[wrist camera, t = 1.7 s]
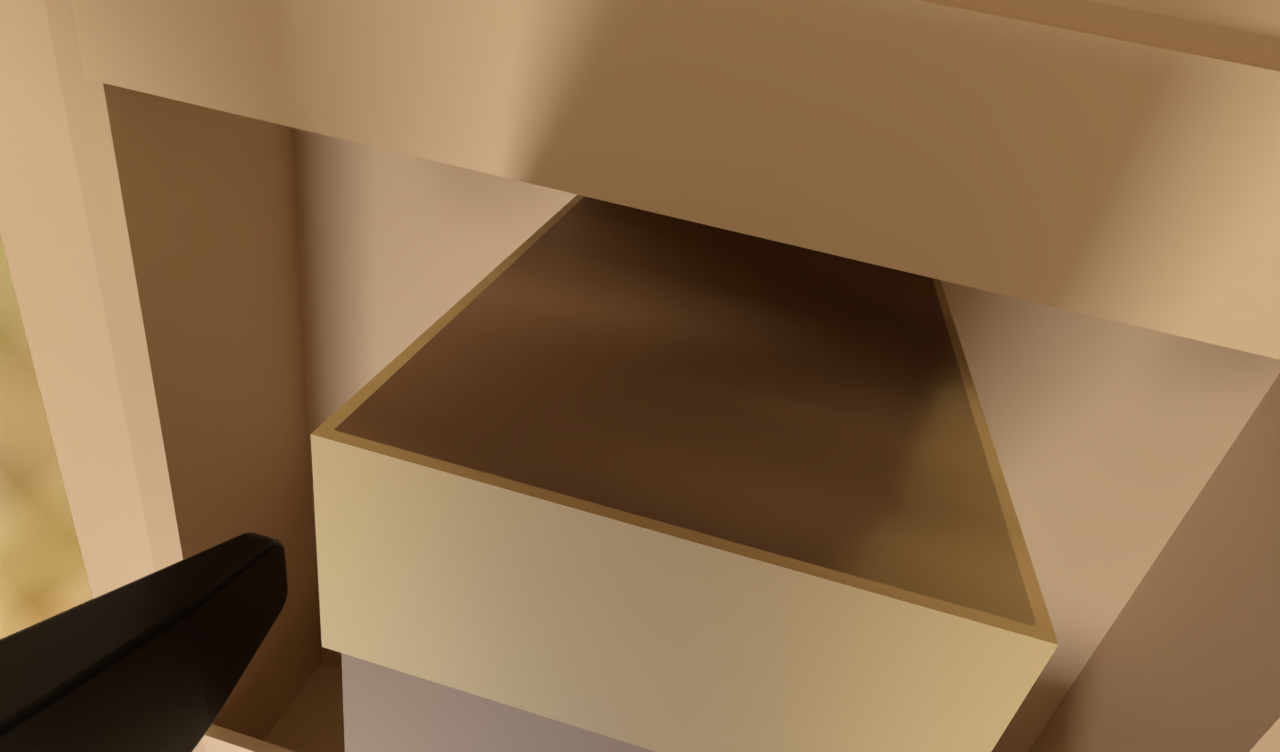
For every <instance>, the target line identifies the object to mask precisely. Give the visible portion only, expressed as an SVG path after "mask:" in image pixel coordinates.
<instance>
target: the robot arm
mask: <svg viewBox="0 0 1280 752" xmlns="http://www.w3.org/2000/svg"><path fill="white" fill-rule="evenodd" d="M287 594H288V581H287V569H286V557H285V548H284V545H283V544H282V542H281V541H279V540H278V539H274V538H271V537H268V536H264V535H261V534H258V533H253V532H249V533H244V534H241V535H239V536H236V537H234V538H232V539H229V540H227V541H225V542H223V543H220V544H218V545H216V546H213V547H211V548H209V549H207V550H204V551H202V552H200V553H197V554H195V555H193V556H190V557H188V558H186V559H184V560H181V561H179V562H177V563H174V564H172V565H170V566H168V567H165V568H163V569H161V570H158V571H156V572H154V573H151V574H149V575H147V576H145V577H142V578H140V579H138V580H135V581H133V582H131V583H129V584H126V585H124V586H122V587H119V588H117V589H115V590H112V591H110V592H108V593H106V594H103V595H101V596H99V597H96V598H94V599H92V600H90V601H87V602H85V603H83V604H80V605H78V606H76V607H73V608H71V609H69V610H67V611H64V612H62V613H60V614H57V615H55V616H53V617H51V618H48V619H46V620H44V621H41V622H39V623H37V624H34V625H32V626H30V627H28V628H25V629H23V630H21V631H18V632H16V633H14V634H12V635H9V636H7V637H5V638H2V639H0V752H192V751H193V750H194V749H195V747H196V746H197V745H198V743H199V742H200V740H201V739H202V738H203V736H204V735H205V733H206V732H207V731H208V729H209V728H210V726H211V725H212V723H213V722H214V720H215V719H216V717H217V716H218V714H219V713H220V711H221V709H222V708H223V706H224V705H225V703H226V701H227V700H228V698H229V696H230V695H231V693H232V692H233V690H234V688H235V687H236V685H237V683H238V682H239V680H240V678H241V677H242V675H243V673H244V672H245V670H246V668H247V667H248V665H249V664H250V662H251V660H252V659H253V657H254V655H255V654H256V652H257V650H258V649H259V647H260V645H261V644H262V642H263V641H264V639H265V637H266V636H267V634H268V632H269V631H270V629H271V627H272V626H273V624H274V622H275V621H276V619H277V618H278V616H279V614H280V613H281V611H282V609H283V607H284V605H285V602H286V599H287Z"/></svg>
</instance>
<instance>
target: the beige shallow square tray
mask: <svg viewBox="0 0 1280 752" xmlns="http://www.w3.org/2000/svg"><path fill="white" fill-rule="evenodd" d="M576 195H581V196H586V197H590V198H594V199H598V200H603V201H607V202H611V203H615V204H620V205H624V206H628V207H632V208H637V209H641V210H645V211H649V212H654V213H658V214H662V215H666V216H671V217H675V218H679V219H683V220H688V221H692V222H696V223H700V224H705V225H709V226H713V227H717V228H722V229H726V230H730V231H734V232H739V233H743V234H747V235H751V236H756V237H760V238H764V239H768V240H773V241H777V242H781V243H785V244H790V245H794V246H798V247H802V248H807V249H811V250H815V251H819V252H824V253H828V254H832V255H836V256H841V257H845V258H849V259H853V260H858V261H862V262H866V263H870V264H875V265H879V266H883V267H887V268H892V269H896V270H900V271H904V272H909V273H913V274H917V275H921V276H926V277H930V278H934V279H938V280H940V281H941V284H942V287H943V290H944V293H945V296H946V299H947V302H948V305H949V308H950V312H951V315H952V318H953V321H954V324H955V327H956V330H957V333H958V336H959V339H960V342H961V345H962V349H963V352H964V355H965V358H966V361H967V364H968V367H969V370H970V373H971V376H972V379H973V382H974V386H975V389H976V392H977V395H978V398H979V401H980V404H981V407H982V410H983V413H984V416H985V419H986V423H987V426H988V429H989V432H990V435H991V438H992V441H993V444H994V447H995V450H996V453H997V456H998V460H999V463H1000V466H1001V469H1002V472H1003V475H1004V478H1005V481H1006V484H1007V487H1008V490H1009V493H1010V497H1011V500H1012V503H1013V506H1014V509H1015V512H1016V515H1017V518H1018V521H1019V524H1020V527H1021V530H1022V534H1023V537H1024V540H1025V543H1026V546H1027V549H1028V552H1029V555H1030V558H1031V561H1032V564H1033V567H1034V570H1035V574H1036V577H1037V580H1038V583H1039V586H1040V589H1041V592H1042V595H1043V598H1044V601H1045V604H1046V607H1047V611H1048V614H1049V617H1050V620H1051V623H1052V626H1053V629H1054V632H1055V635H1056V638H1057V641H1058V644H1059V645H1058V647H1057V648H1056V650H1055V651H1054V653H1053V655H1052V656H1051V658H1050V659H1049V661H1048V662H1047V664H1046V666H1045V667H1044V669H1043V670H1042V672H1041V674H1040V675H1039V677H1038V678H1037V680H1036V682H1035V683H1034V685H1033V686H1032V688H1031V689H1030V691H1029V693H1028V694H1027V696H1026V697H1025V699H1024V701H1023V702H1022V704H1021V705H1020V707H1019V709H1018V710H1017V712H1016V713H1015V715H1014V717H1013V718H1012V720H1011V721H1010V723H1009V724H1008V726H1007V728H1006V729H1005V731H1004V732H1003V734H1002V736H1001V737H1000V739H999V740H998V742H997V744H996V745H995V747H994V748H993V750H992V752H1280V0H0V234H1V238H2V242H3V246H4V250H5V254H6V258H7V262H8V266H9V269H10V273H11V277H12V281H13V285H14V289H15V293H16V297H17V301H18V305H19V309H20V313H21V317H22V321H23V325H24V329H25V332H26V336H27V340H28V344H29V348H30V352H31V356H32V360H33V364H34V368H35V372H36V376H37V380H38V384H39V388H40V392H41V396H42V399H43V403H44V407H45V411H46V415H47V419H48V423H49V427H50V431H51V435H52V439H53V443H54V447H55V451H56V455H57V459H58V462H59V466H60V470H61V474H62V478H63V482H64V486H65V490H66V494H67V498H68V502H69V506H70V510H71V514H72V518H73V522H74V526H75V529H76V533H77V537H78V541H79V545H80V549H81V553H82V557H83V561H84V565H85V569H86V573H87V577H88V581H89V585H90V589H91V593H92V596H93V599H94V598H96V597H99V596H101V595H103V594H106V593H108V592H110V591H112V590H115V589H117V588H119V587H122V586H124V585H126V584H129V583H131V582H133V581H135V580H138V579H140V578H142V577H145V576H147V575H149V574H151V573H154V572H156V571H158V570H161V569H163V568H165V567H168V566H170V565H172V564H174V563H177V562H179V561H181V560H184V559H186V558H188V557H190V556H193V555H195V554H197V553H200V552H202V551H204V550H207V549H209V548H211V547H213V546H216V545H218V544H220V543H223V542H225V541H227V540H229V539H232V538H234V537H236V536H239V535H241V534H244V533H249V532H253V533H258V534H261V535H264V536H268V537H271V538H274V539H278V540H279V541H281V542H282V544H283V545H284V548H285V557H286V569H287V581H288V594H287V599H286V602H285V605H284V607H283V609H282V611H281V613H280V614H279V616H278V618H277V619H276V621H275V622H274V624H273V626H272V627H271V629H270V631H269V632H268V634H267V636H266V637H265V639H264V641H263V642H262V644H261V645H260V647H259V649H258V650H257V652H256V654H255V655H254V657H253V659H252V660H251V662H250V664H249V665H248V667H247V668H246V670H245V672H244V673H243V675H242V677H241V678H240V680H239V682H238V683H237V685H236V687H235V688H234V690H233V692H232V693H231V695H230V696H229V698H228V700H227V701H226V703H225V705H224V706H223V708H222V709H221V711H220V713H219V714H218V716H217V717H216V719H215V720H214V722H213V723H212V725H211V726H210V728H209V729H208V731H207V732H206V733H205V735H204V736H203V738H202V739H201V740H200V742H199V743H198V745H197V746H196V747H195V749H194V750H193V751H192V752H345V742H344V714H343V685H342V657H341V653H340V652H337V651H334V650H330V649H327V648H324V647H322V641H321V622H320V603H319V584H318V565H317V547H316V528H315V509H314V490H313V471H312V452H311V433H312V432H313V431H315V430H316V429H317V428H318V427H319V426H320V425H321V424H322V423H323V422H325V421H326V420H327V419H328V418H329V417H330V416H331V415H332V414H333V413H335V412H336V411H337V410H338V409H339V408H340V407H341V406H342V405H344V404H345V403H346V402H347V401H348V400H349V399H350V398H351V397H352V396H354V395H355V394H356V393H357V392H358V391H359V390H360V389H361V388H362V387H364V386H365V385H366V384H367V383H368V382H369V381H370V380H371V379H372V378H374V377H375V376H376V375H377V374H378V373H379V372H380V371H381V370H382V369H384V368H385V367H386V366H387V365H388V364H389V363H390V362H391V361H393V360H394V359H395V358H396V357H397V356H398V355H399V354H400V353H401V352H403V351H404V350H405V349H406V348H407V347H408V346H409V345H410V344H411V343H413V342H414V341H415V340H416V339H417V338H418V337H419V336H420V335H421V334H423V333H424V332H425V331H426V330H427V329H428V328H429V327H430V326H431V325H433V324H434V323H435V322H436V321H437V320H438V319H439V318H440V317H442V316H443V315H444V314H445V313H446V312H447V311H448V310H449V309H450V308H452V307H453V306H454V305H455V304H456V303H457V302H458V301H459V300H460V299H462V298H463V297H464V296H465V295H466V294H467V293H468V292H469V291H470V290H472V289H473V288H474V287H475V286H476V285H477V284H478V283H479V282H481V281H482V280H483V279H484V278H485V277H486V276H487V275H488V274H489V273H491V272H492V271H493V270H494V269H495V268H496V267H497V266H498V265H499V264H501V263H502V262H503V261H504V260H505V259H506V258H507V257H508V256H509V255H511V254H512V253H513V252H514V251H515V250H516V249H517V248H518V247H519V246H521V245H522V244H523V243H524V242H525V241H526V240H527V239H528V238H530V237H531V236H532V235H533V234H534V233H535V232H536V231H537V230H538V229H540V228H541V227H542V226H543V225H544V224H545V223H546V222H547V221H548V220H550V219H551V218H552V217H553V216H554V215H555V214H556V213H557V212H558V211H560V210H561V209H562V208H563V207H564V206H565V205H566V204H567V203H568V202H570V201H571V200H572V199H573V198H574V197H575V196H576Z"/></svg>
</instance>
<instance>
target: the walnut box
mask: <svg viewBox="0 0 1280 752" xmlns="http://www.w3.org/2000/svg"><path fill="white" fill-rule="evenodd" d="M311 452H312V471H313V490H314V509H315V528H316V547H317V565H318V584H319V603H320V622H321V641H322V647H324V648H327V649H330V650H334V651H337V652H340V653H341V657H342V685H343V714H344V742H345V752H992V750H993V748H994V747H995V745H996V744H997V742H998V740H999V739H1000V737H1001V736H1002V734H1003V732H1004V731H1005V729H1006V728H1007V726H1008V724H1009V723H1010V721H1011V720H1012V718H1013V717H1014V715H1015V713H1016V712H1017V710H1018V709H1019V707H1020V705H1021V704H1022V702H1023V701H1024V699H1025V697H1026V696H1027V694H1028V693H1029V691H1030V689H1031V688H1032V686H1033V685H1034V683H1035V682H1036V680H1037V678H1038V677H1039V675H1040V674H1041V672H1042V670H1043V669H1044V667H1045V666H1046V664H1047V662H1048V661H1049V659H1050V658H1051V656H1052V655H1053V653H1054V651H1055V650H1056V648H1057V647H1058V645H1059V644H1058V641H1057V638H1056V635H1055V632H1054V629H1053V626H1052V623H1051V620H1050V617H1049V614H1048V611H1047V607H1046V604H1045V601H1044V598H1043V595H1042V592H1041V589H1040V586H1039V583H1038V580H1037V577H1036V574H1035V570H1034V567H1033V564H1032V561H1031V558H1030V555H1029V552H1028V549H1027V546H1026V543H1025V540H1024V537H1023V534H1022V530H1021V527H1020V524H1019V521H1018V518H1017V515H1016V512H1015V509H1014V506H1013V503H1012V500H1011V497H1010V493H1009V490H1008V487H1007V484H1006V481H1005V478H1004V475H1003V472H1002V469H1001V466H1000V463H999V460H998V456H997V453H996V450H995V447H994V444H993V441H992V438H991V435H990V432H989V429H988V426H987V423H986V419H985V416H984V413H983V410H982V407H981V404H980V401H979V398H978V395H977V392H976V389H975V386H974V382H973V379H972V376H971V373H970V370H969V367H968V364H967V361H966V358H965V355H964V352H963V349H962V345H961V342H960V339H959V336H958V333H957V330H956V327H955V324H954V321H953V318H952V315H951V312H950V308H949V305H948V302H947V299H946V296H945V293H944V290H943V287H942V284H941V281H940V280H938V279H934V278H930V277H926V276H921V275H917V274H913V273H909V272H904V271H900V270H896V269H892V268H887V267H883V266H879V265H875V264H870V263H866V262H862V261H858V260H853V259H849V258H845V257H841V256H836V255H832V254H828V253H824V252H819V251H815V250H811V249H807V248H802V247H798V246H794V245H790V244H785V243H781V242H777V241H773V240H768V239H764V238H760V237H756V236H751V235H747V234H743V233H739V232H734V231H730V230H726V229H722V228H717V227H713V226H709V225H705V224H700V223H696V222H692V221H688V220H683V219H679V218H675V217H671V216H666V215H662V214H658V213H654V212H649V211H645V210H641V209H637V208H632V207H628V206H624V205H620V204H615V203H611V202H607V201H603V200H598V199H594V198H590V197H586V196H581V195H576V196H575V197H574V198H573V199H572V200H571V201H570V202H568V203H567V204H566V205H565V206H564V207H563V208H562V209H561V210H560V211H558V212H557V213H556V214H555V215H554V216H553V217H552V218H551V219H550V220H548V221H547V222H546V223H545V224H544V225H543V226H542V227H541V228H540V229H538V230H537V231H536V232H535V233H534V234H533V235H532V236H531V237H530V238H528V239H527V240H526V241H525V242H524V243H523V244H522V245H521V246H519V247H518V248H517V249H516V250H515V251H514V252H513V253H512V254H511V255H509V256H508V257H507V258H506V259H505V260H504V261H503V262H502V263H501V264H499V265H498V266H497V267H496V268H495V269H494V270H493V271H492V272H491V273H489V274H488V275H487V276H486V277H485V278H484V279H483V280H482V281H481V282H479V283H478V284H477V285H476V286H475V287H474V288H473V289H472V290H470V291H469V292H468V293H467V294H466V295H465V296H464V297H463V298H462V299H460V300H459V301H458V302H457V303H456V304H455V305H454V306H453V307H452V308H450V309H449V310H448V311H447V312H446V313H445V314H444V315H443V316H442V317H440V318H439V319H438V320H437V321H436V322H435V323H434V324H433V325H431V326H430V327H429V328H428V329H427V330H426V331H425V332H424V333H423V334H421V335H420V336H419V337H418V338H417V339H416V340H415V341H414V342H413V343H411V344H410V345H409V346H408V347H407V348H406V349H405V350H404V351H403V352H401V353H400V354H399V355H398V356H397V357H396V358H395V359H394V360H393V361H391V362H390V363H389V364H388V365H387V366H386V367H385V368H384V369H382V370H381V371H380V372H379V373H378V374H377V375H376V376H375V377H374V378H372V379H371V380H370V381H369V382H368V383H367V384H366V385H365V386H364V387H362V388H361V389H360V390H359V391H358V392H357V393H356V394H355V395H354V396H352V397H351V398H350V399H349V400H348V401H347V402H346V403H345V404H344V405H342V406H341V407H340V408H339V409H338V410H337V411H336V412H335V413H333V414H332V415H331V416H330V417H329V418H328V419H327V420H326V421H325V422H323V423H322V424H321V425H320V426H319V427H318V428H317V429H316V430H315V431H313V432H312V433H311Z"/></svg>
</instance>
